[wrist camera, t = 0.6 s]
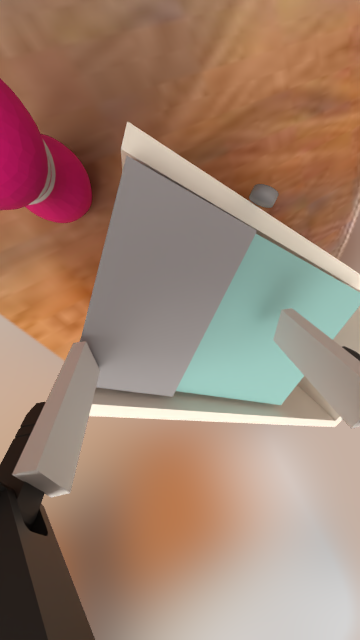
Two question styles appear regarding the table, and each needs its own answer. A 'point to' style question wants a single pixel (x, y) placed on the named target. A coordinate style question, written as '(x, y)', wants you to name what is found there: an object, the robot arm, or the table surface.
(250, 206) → the frame
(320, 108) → the table surface
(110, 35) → the table surface
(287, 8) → the table surface
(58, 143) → the pepper mill
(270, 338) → the trapdoor
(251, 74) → the table surface
